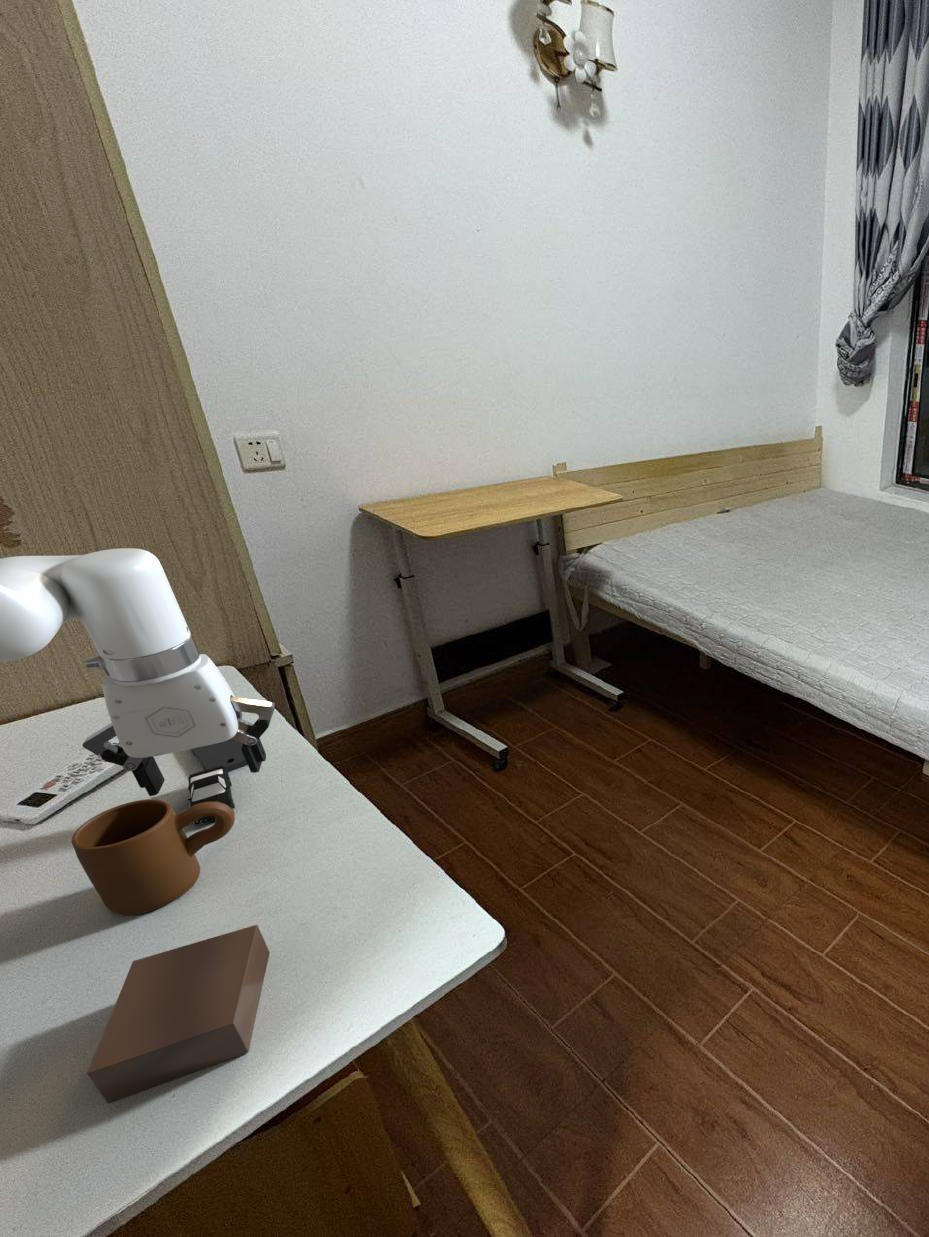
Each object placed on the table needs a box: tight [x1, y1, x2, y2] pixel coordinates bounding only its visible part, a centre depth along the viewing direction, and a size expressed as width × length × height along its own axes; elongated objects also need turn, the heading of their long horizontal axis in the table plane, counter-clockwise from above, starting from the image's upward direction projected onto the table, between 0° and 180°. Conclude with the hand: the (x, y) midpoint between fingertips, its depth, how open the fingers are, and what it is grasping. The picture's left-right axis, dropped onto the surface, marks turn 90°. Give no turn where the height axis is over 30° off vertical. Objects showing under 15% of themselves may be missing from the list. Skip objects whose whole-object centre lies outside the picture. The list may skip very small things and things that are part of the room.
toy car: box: [186, 765, 236, 826], centre depth 84 cm, size 10×4×3 cm, turn 42°
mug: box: [71, 798, 236, 916], centre depth 71 cm, size 12×8×9 cm, turn 124°
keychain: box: [190, 739, 248, 772], centre depth 92 cm, size 5×1×10 cm
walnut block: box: [86, 924, 270, 1104], centre depth 59 cm, size 9×11×4 cm
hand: (209, 777), depth 83 cm, fingers open, 9 cm apart
